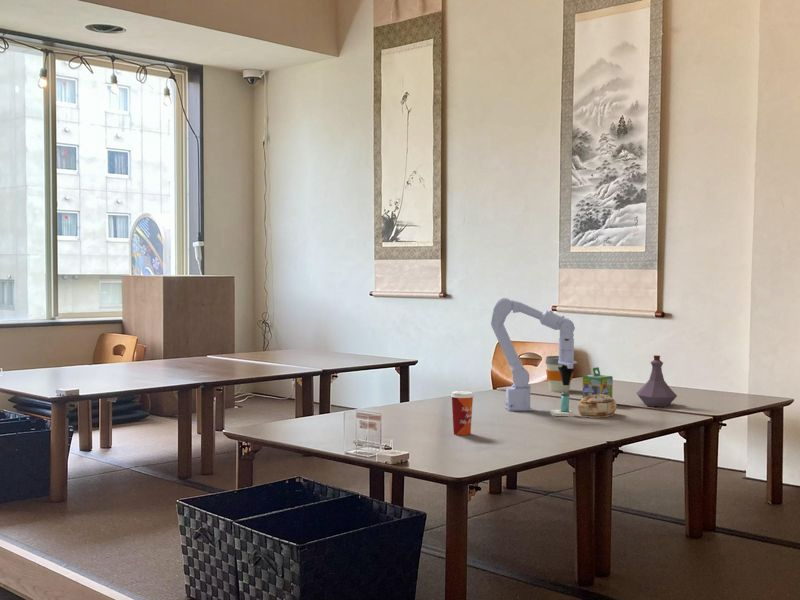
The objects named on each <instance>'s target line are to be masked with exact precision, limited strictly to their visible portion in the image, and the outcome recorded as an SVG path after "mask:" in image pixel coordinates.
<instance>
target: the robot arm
mask: <svg viewBox="0 0 800 600" xmlns="http://www.w3.org/2000/svg"><path fill="white" fill-rule="evenodd" d="M510 313H513V314H516V313H521V314H524V315H526V316H529V317H532V318H534V319H538V320H539V322H540V324H541V325H542V326H545V327H547V328H549V329H552V330H554V331H559V338H558V356H559V361H558V364H560V365H562V367H558V369H559V371H560V374H561V378H562V383H563V385H569V383H570V379H571V375H572V373H573V374H574V371H575V367H574V364H577V363H578V362H577V361H576V360H574V359H575V358H574V357H575V356H574V355H575V354H574V353H575V338H574V336H575V333H574V331H575V329H576V327H575V324H574V322H573V321H572V320H571V319H569V318H567V317H566V316H565V315H558V314H556V313H554V311H553V310H545V311H540V310H538V309H536V308H534V307H532V306H529V305H528V304H525V303H523V302H520V301H517V300H514V299H509V298H507V297H502V298H499V299H498V300H497V302H496V304H495V306H494V307H493V312H492V316H491V321H490V326H491V328H492V330H493V332H494V334H495V337H496V339H497V341H498V344H499V346H500V347H501V350H502V352H503V355H504V357H505V360H506V362H507V363H508V365H509V368H510V372H511V374H512V382H513V384H511V386H507V387H505V406H504V407H505V409H506V410H507V411H509V412H512V411H513V412H515V411H516V412H517V411H525V412H526V411H531V412H533V410H534V409H533V408H532V407H531V385H530V384H529V383H530V373H529V371H528V370H527V369H526V368H524V365H523V364H522V362H521V360H520V358H519V355H518V353H517V351H516V349H515V347H514V344H513V342H512V340H511V337H510V336H509V333H508V331H507V328H506V327H505V325H504V324H505V321H506V318H507V317H508V316H509V314H510ZM565 317H566V318H565Z"/></svg>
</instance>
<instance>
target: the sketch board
mask: <svg viewBox="0 0 800 600" xmlns="http://www.w3.org/2000/svg"><path fill="white" fill-rule="evenodd" d="M549 413H550V414H551V415H552V414H553V415H552V416H554V415H555V416H568V417H575V413H574V412H573V411H571V410H570V409H569V412H561V409H550V411H549ZM555 416H554V417H555Z"/></svg>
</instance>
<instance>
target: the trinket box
mask: <svg viewBox="0 0 800 600" xmlns="http://www.w3.org/2000/svg"><path fill="white" fill-rule="evenodd" d="M616 409H617V402H616V400H615V399H614V398H613V396H612V397H610V396H607V395H603V394H594V395H588V396H586V397H585V398H583V397H582V399H580V401H579V402H578V405H577V411H578V413H579V414H580V417H582V416H583V417H582V418H587V417H589V419H590V418H592V419H597V418H598V419H601V418H607V417H612V416H614V415H615V412H616Z"/></svg>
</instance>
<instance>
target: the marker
mask: <svg viewBox="0 0 800 600" xmlns="http://www.w3.org/2000/svg"><path fill="white" fill-rule="evenodd" d="M570 393H571V392H560V395H561V397H560V410H561V412H569V410H570V395H571V394H570Z"/></svg>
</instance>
